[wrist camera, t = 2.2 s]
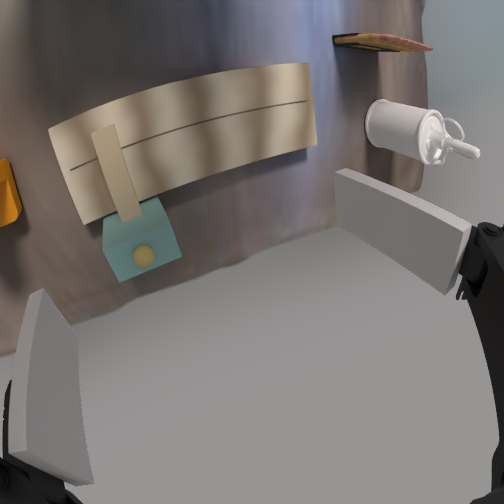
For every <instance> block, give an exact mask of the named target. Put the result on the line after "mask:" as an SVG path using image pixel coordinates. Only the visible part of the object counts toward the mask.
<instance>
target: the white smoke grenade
mask: <svg viewBox="0 0 504 504" xmlns="http://www.w3.org/2000/svg"><path fill="white" fill-rule="evenodd" d="M445 120H449V121H452V122H453V123H455V124H456V125H457V126H458V128H459V129H460V131H461V133H462V139H461V140H460V141H458V140H457V139H456V140H455V139H453V138H452V137H450V135H449V134H448V133H447V132H446V130H445V123H444V121H445ZM365 130H366V135H367V137H368V139H369V141H370V142H371V144H373V145H374V146H376V147H379V148H386V149H389V150H392V151H395V152H398V153H401V154H404V155H407V156H409V157H412V158H415V159H417V160H420V161H421V162H422V163H424V164H426V165H432V164H434V165H437V166H442V165H443V163H444V161H445V158H446V155H447V153H450V152H453V153H456V154H458V155H460V156H463V157H465V158H468V159H473V160H474V159H478V157H479V156H480V150H479V149H478V148H477V147H474V146H471V145H469V144H466V143H463V142H462V141H463V139H464V132H463V130H462V128H461V126H460V125H459V124H458V123H457V122H456V121H455V120H453V119H451V118H445V119H444V120H443V117H442V115H441V114H440V113H439V112H438V111H436V110H426V109H422V108H417V107H413V106H408V105H403V104H398V103H393V102H389V101H387V100H385V99H379V100H376V101H375V102H374V103H372V105H371V106H370V107H369V109H368V111H367V114H366V119H365ZM445 132H446V133H445ZM442 150H443V151H446V150H447V151H446V152H445V153H444V156H443V159H442V161H440V160H438V158H439V157H440V155H441V153H442Z"/></svg>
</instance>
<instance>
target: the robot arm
mask: <svg viewBox="0 0 504 504" xmlns="http://www.w3.org/2000/svg"><path fill="white" fill-rule="evenodd" d="M334 180H335V204H336V224H337V225H339V226H340V227H342V228H344V229H345V230H347V231H348V232H351V233H352V234H353V235H355V236H357V237H358V238H360V239H362V240H363V241H365V242H366V243H368V244H369V245H371V246H372V247H374V248H376V249H377V250H379V251H380V252H382V253H383V254H385V255H386V256H388V257H390V258H391V259H393V260H394V261H396V262H397V263H399V264H400V265H402V266H403V267H405V268H406V269H408V270H409V271H411V272H412V273H414V274H415V275H416V276H418V277H419V278H421V279H422V280H424V281H425V282H426V283H428V284H429V285H431V286H432V287H434V288H435V289H436V290H438V291H439V292H441V293H442V294H443V295H446V294H447V293H448V292H449V291H450V290H451V289H452V288H453V287H454V285H455V282H456V279H457V276H458V273H459V274H461V275H462V276H463V277H462V280H461V283H460V286H459V289H458V291H457V294H456V299H457V300H459V297H460V295H461V292H463V291H464V293H463V295H462V300H465V299H467V300H468V303H469V306H470V308H471V311H472V314H473V317H474V320H475V323H476V326H477V329H478V333H479V336H480V339H481V343H482V346H483V350H484V354H485V358H486V361H487V366H488V370H489V374H490V378H491V383H492V388H493V394H494V399H495V405H496V412H497V419H498V428H499V438H500V439H499V444H498V447H497V448H496V450H495V452H494V455H493V459H492V489H491V492H490V493H488V494H487V495H486V496H484V497H482V498H478V499H475V500H473V501H472V502H471V503H470V504H504V226H503V227H498V226H496V225H494V224H491V223H487V222H483V223H479V224H478V227H474V226H472V224H470V223H468V222H467V221H464V220H463V219H461V218H459V217H457V216H455V215H453V214H451V213H449V212H447V211H445V210H443V209H441V208H439V207H437V206H435V205H433V204H431V203H429V202H427V201H425V200H422V199H420V198H418V197H416V196H414V195H411V194H409V193H407V192H405V191H402V190H400V189H398V188H395V187H393V186H391V185H388V184H386V183H383V182H381V181H378V180H376V179H373V178H371V177H368V176H366V175H363V174H361V173H358V172H355V171H353V170H350V169H347V168H345V169H342V170H338V171H335V172H334ZM4 407H5V409H4V414H3V418H4V420H3V459H2V458H1V457H0V504H83V503H82V502H81V501H80V500H78V499H77V497H75V496H74V495H73V494H72V493H71V492H70V491H68V490H66V489H65V487H64V482H67V483H69V484H72V485H74V486H81V485H88V484H93V483H94V480H93V475H92V471H91V466H90V461H89V456H88V451H87V446H86V439H85V433H84V426H83V418H82V409H81V399H80V387H79V367H78V335H77V334H76V333H75V332H74V330H73V329H72V327H71V326H70V325H69V324H68V322H67V321H66V319H65V318H64V317H63V315H62V314H61V313H60V311H59V310H58V308H57V307H56V306H55V304H54V303H53V301H52V300H51V298H50V297H49V295H48V294H47V292H46V291H45V289H44V288H42V289H40V290H38V291H36V292H34V293H32V294H30V296H29V299H28V303H27V306H26V310H25V314H24V318H23V322H22V326H21V331H20V335H19V340H18V345H17V350H16V356H15V362H14V368H13V375H12V380H10V382H9V384H8V387H7V390H6V392H5V400H4Z"/></svg>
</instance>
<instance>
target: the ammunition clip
mask: <svg viewBox="0 0 504 504" xmlns="http://www.w3.org/2000/svg"><path fill="white" fill-rule="evenodd" d="M333 43H334V46H338V47H348V48H357V49H365V50H371V51H378V52H400V51H408V52H412V51H430V50H433V48H432V47H430V46H427V45H424V44H421V43H418V42H415V41H412V40H408V39H405V38H402V37H398V36H394V35H388V34H374V33H369V34H360V33H351V34H341V35H333Z"/></svg>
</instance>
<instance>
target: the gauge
mask: <svg viewBox="0 0 504 504" xmlns="http://www.w3.org/2000/svg"><path fill="white" fill-rule="evenodd" d="M91 137H92V140H93V143H94V147H95V150H96V153H97V156H98V159H99V162H100V165H101V168H102V171H103V174H104V177H105V179H106V182H107V185H108V188H109V190H110V193H111V196H112V198H113V201H114V204H115V206H116V209H117V211H115V212H112V213H110V214H108V215H105V216H104V219H103V252H104V255H105V257H106V259H107V260H108V262H109V264H110V266H111V268H112V270H113V272H114V274H115V276H116V278H117V280H118V281H119V283H121V282H123V281H125V280H128V279H130V278H132V277H135V276H137V275H140V274H142V273H144V272H147V271H149V270H151V269H154V268H156V267H159V266H161V265H163V264H166V263H168V262H171V261H173V260H176V259H178V258H180V257H182V254H181V251H180V249H179V246H178V243H177V240H176V237H175V234H174V231H173V228H172V226H171V223H170V221H169V219H168V217H167V215H166V212H165V210H164V208H163V206H162V204H161V202H160V200H159V198H158V196H157V195H154V196H152V197H149V198H147V199H144V200H142V201H139V202H138V199H137V196H136V193H135V190H134V187H133V184H132V181H131V178H130V175H129V172H128V169H127V166H126V163H125V160H124V157H123V153H122V150H121V147H120V143H119V140H118V137H117V133H116V130H115V126H114V124H112V125H109V126H107V127H104V128H102V129H99V130H97V131H94V132H92V133H91Z"/></svg>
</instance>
